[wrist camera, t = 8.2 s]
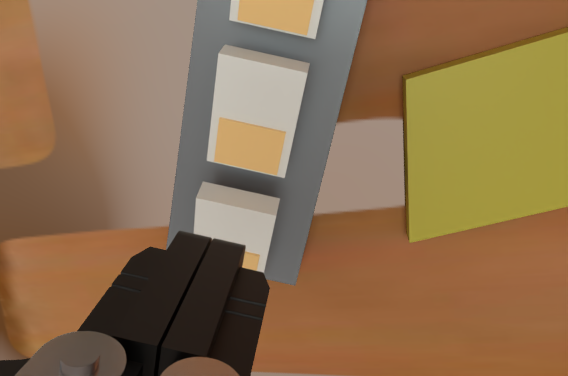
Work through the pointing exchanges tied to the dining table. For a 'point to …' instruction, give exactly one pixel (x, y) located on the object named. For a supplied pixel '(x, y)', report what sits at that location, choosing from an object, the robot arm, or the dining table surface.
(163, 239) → the dining table surface
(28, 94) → the dining table surface
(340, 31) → the power strip
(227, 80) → the block
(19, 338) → the dining table surface
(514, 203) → the flat olive board
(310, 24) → the block
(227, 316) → the robot arm
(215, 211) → the block
